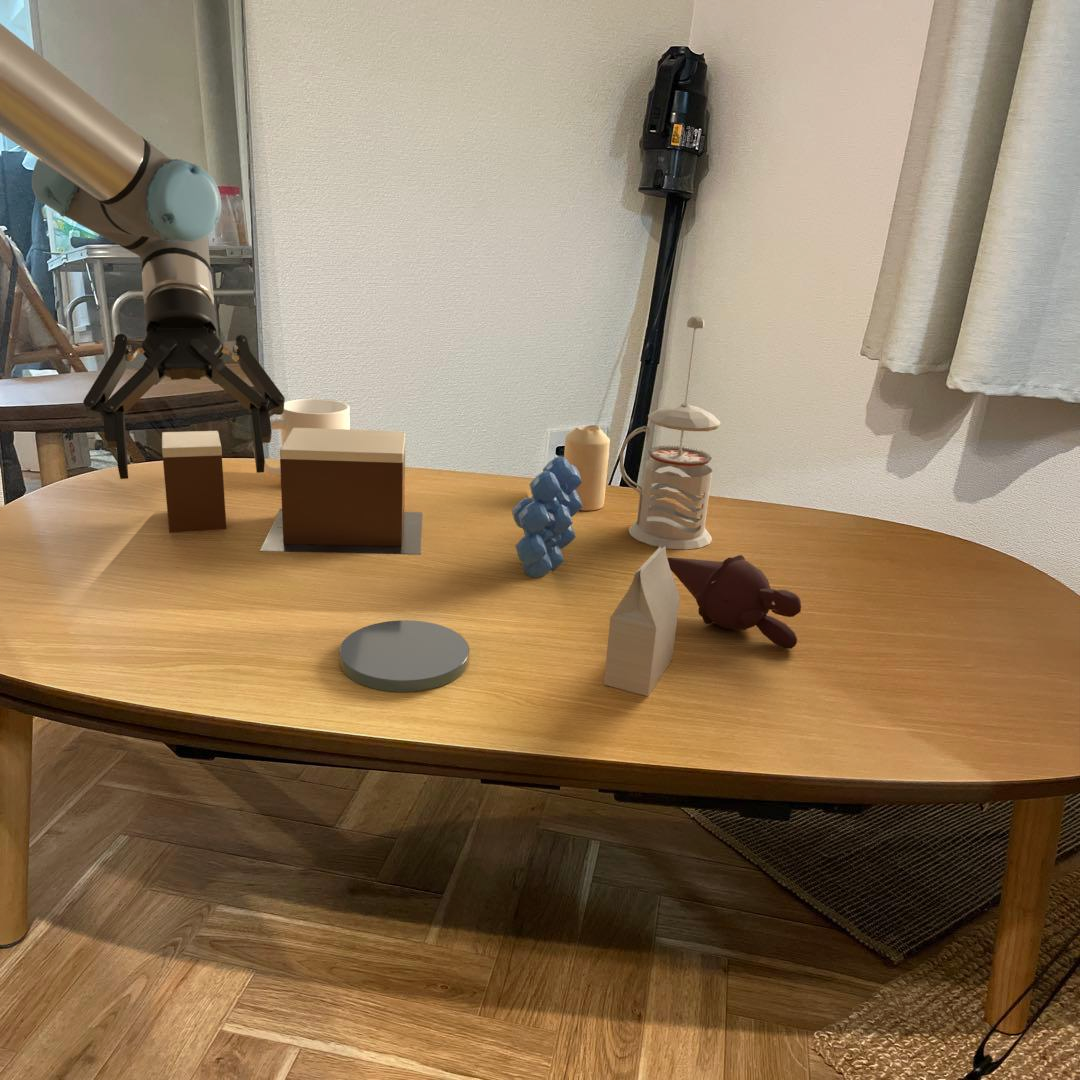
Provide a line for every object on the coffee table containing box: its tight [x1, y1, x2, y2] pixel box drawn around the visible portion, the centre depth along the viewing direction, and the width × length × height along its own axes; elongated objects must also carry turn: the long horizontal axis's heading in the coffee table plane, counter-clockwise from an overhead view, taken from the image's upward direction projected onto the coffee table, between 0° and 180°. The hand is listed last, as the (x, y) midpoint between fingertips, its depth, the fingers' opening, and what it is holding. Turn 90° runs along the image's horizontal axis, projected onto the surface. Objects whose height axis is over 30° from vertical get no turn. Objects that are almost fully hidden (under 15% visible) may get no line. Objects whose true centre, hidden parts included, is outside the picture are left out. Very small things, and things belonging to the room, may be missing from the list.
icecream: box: [667, 554, 802, 650], centre depth 82 cm, size 7×7×15 cm
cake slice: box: [161, 430, 227, 534], centre depth 95 cm, size 6×6×10 cm
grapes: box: [511, 456, 583, 578], centre depth 90 cm, size 12×7×12 cm, turn 155°
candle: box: [563, 424, 611, 511], centre depth 112 cm, size 6×6×10 cm
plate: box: [338, 619, 470, 693], centre depth 73 cm, size 10×10×1 cm
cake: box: [279, 428, 406, 546], centre depth 95 cm, size 12×9×10 cm
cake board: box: [259, 508, 423, 555], centre depth 97 cm, size 16×13×1 cm
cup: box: [253, 398, 351, 478], centre depth 111 cm, size 8×12×10 cm
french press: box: [619, 316, 721, 550], centre depth 101 cm, size 10×12×25 cm
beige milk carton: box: [603, 546, 681, 697], centre depth 72 cm, size 4×7×10 cm, turn 156°
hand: (193, 470), depth 95 cm, fingers open, 13 cm apart
